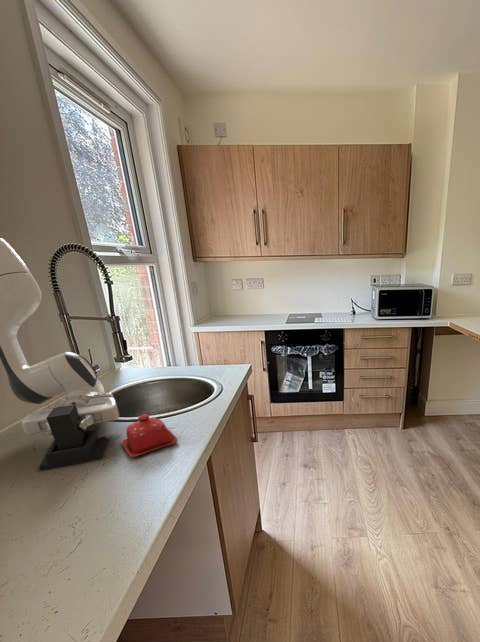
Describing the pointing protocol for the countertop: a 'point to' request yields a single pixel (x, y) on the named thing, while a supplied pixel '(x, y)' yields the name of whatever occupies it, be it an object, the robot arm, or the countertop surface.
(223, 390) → the countertop surface
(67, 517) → the countertop surface
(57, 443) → the black block
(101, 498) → the countertop surface
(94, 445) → the base pad
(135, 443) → the butter dish
